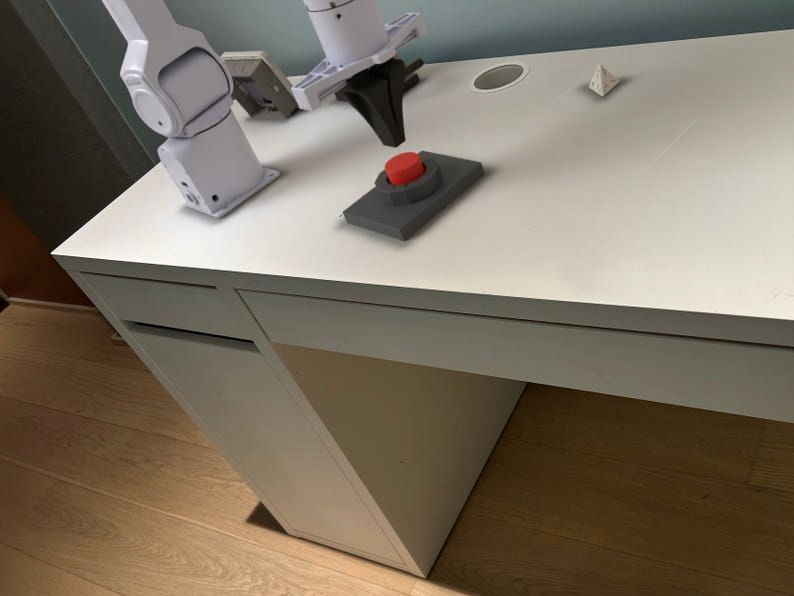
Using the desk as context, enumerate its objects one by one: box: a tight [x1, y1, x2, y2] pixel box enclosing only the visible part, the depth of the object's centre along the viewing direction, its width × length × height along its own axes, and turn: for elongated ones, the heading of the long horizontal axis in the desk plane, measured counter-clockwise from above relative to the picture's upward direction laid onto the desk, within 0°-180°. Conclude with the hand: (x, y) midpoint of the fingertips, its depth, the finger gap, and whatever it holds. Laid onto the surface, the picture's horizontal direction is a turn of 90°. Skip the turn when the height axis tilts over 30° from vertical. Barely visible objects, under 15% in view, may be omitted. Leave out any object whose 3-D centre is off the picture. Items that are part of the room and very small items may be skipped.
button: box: [384, 151, 424, 186], centre depth 72 cm, size 4×4×2 cm
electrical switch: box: [219, 50, 300, 120], centre depth 99 cm, size 9×5×9 cm, turn 57°
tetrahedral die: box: [588, 63, 620, 97], centre depth 80 cm, size 4×3×3 cm
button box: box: [341, 150, 485, 242], centre depth 73 cm, size 12×9×3 cm
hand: (394, 142), depth 70 cm, fingers closed
